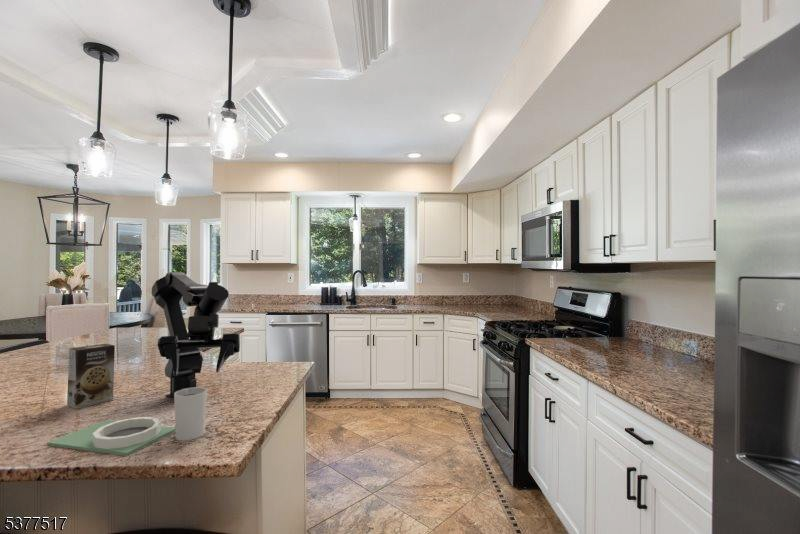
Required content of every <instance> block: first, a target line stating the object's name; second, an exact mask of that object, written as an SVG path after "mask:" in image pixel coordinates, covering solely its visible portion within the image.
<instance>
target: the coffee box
mask: <svg viewBox="0 0 800 534" xmlns="http://www.w3.org/2000/svg"><path fill="white" fill-rule="evenodd" d="M115 346H116V345H113V344H109V343H101V344H93V345H85V346H83V345H82V346H76V347H69V348H68V367H67V369H68V374H67V390H66V391H67V392H66V393H67V398H66V405H67V406H68V407H70V408H73V409H75V410H77V409H82V408H86V407H91V406H93V405H97V404H98V405H99V404H102V403H106V402H107V403H108V402H111V401H113V400H114V388H115V387H114V386H115V385H114V384H115V383H114V382H115V380H114V379H115V354H116V353H115V350H116V349H115V348H116V347H115Z"/></svg>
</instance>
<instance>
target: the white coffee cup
mask: <svg viewBox="0 0 800 534" xmlns="http://www.w3.org/2000/svg"><path fill="white" fill-rule="evenodd" d="M207 395H208V389H207V388H206V387H201V386H198V387H197V386H196V387H193V388H186V389H182V390H179V391H177V392H175V393H174V397H173V398H174V401H173V402H174V424H175V425H174V427H175V440H178V441H190V440H191V441H192V440H196V439H198V438H201V437H202V436H203V435H205V425H206V424H205V423H206V410H207V408H206V407H207Z"/></svg>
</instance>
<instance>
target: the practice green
mask: <svg viewBox="0 0 800 534" xmlns="http://www.w3.org/2000/svg"><path fill="white" fill-rule="evenodd" d="M172 433H176V431H175V426H166V425H161V420H159V418H157V417H150V416H141V417H140V416H139V417H130V418H125V419H122V420H109V419H104V420H102V421H99V422H97V423H94V424H90V425H89V426H87V427H83V428H81V429H79V430H75V431H74V432H70V433H67V434H66V435H63V436H60V437H58V438H56V439H52V440H50V441H47V442H46V446H50V447H58V448H65V449H71V450H72V449H73V450H79V449H80V450H79V451H86V452H87V451H88V452H93V451H94V452H93V453H96V452H97V453H103V454H108V455H109V454H110V455H115V456H116V455H117V456H125V457H127V456H129V455H131V454H134V453H135V452H137V451H139V450H141V449H143V448H145V447H147V446H149V445H151V444H153V443H155V442H157V441H159V440H161V439H163V438H165V437H166V436H169V435H171V434H172Z"/></svg>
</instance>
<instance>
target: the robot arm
mask: <svg viewBox="0 0 800 534" xmlns="http://www.w3.org/2000/svg"><path fill="white" fill-rule="evenodd" d="M151 296H152V298H154V301H155V303H156V305H157V306H159V307H160V308H162V309H163V312H164V313H163V314H164V317H165V321H166V324H167V329H168V333H169V335H164V336H161V337H160V338H159V339H157V344H156V345H157V349H158V351H159V355H160V357H162V358H165V359H166V360H168V361H167V363H166V365H165V367H164V375H165V377H167V378H169V379H170V383H169V385H170V386H169V388H170V390H169V391H170V393H167V394H166V395H165V397H166V398H174V393H175V392H177V391H179V390H182V389H186V388H193V387H197V378H196V374H201V371H202V368H203V361H204V358H203V355H202V353H201V350H200V349H212V348H215V349H216V348H220V349H219V352H218V353H219V354H218V358H217V363H216V370H215V372H216V373H219V372H220V370H221V368H222V367H223V365H224V364H225V363H226V361H227V360H228V359H229V358H230V357H231V356H234V355H235V354H238V353H239V352H240V347H241V341H240V339H241V338H240V334H239V333H237V332H233V333H232V332H231V333H223V334H222V338H221V339H220V338H219V339H218V338H217V339H215V330H216V328H219V323H220V322H219V321H220V320H219V319H220V318H219V315H220V314H217V313H218V312H220V311H221V310H222V308H223V306H224V305H225V303H226V302H227V299H228V298H229V290H228V289H227V288H226V287H224V286H223V285H220V284H218V281H209V282H208V285H207V284H200V283H196V282H195V281H194V280H193V279H192V278H190V277H189V276H187V274H186V273H184V272H181V271H174V272H173V271H169V272H167V273H165V275H164V276H163V277H161V278H159V279H157V280H156V281H155V282H154V284H153V285H152V287H151ZM181 299H182V302H183V303H184V304H185V306H186V307H194V311H193V316H188V321H187V326H186V321H185V318H184V314H183V311H182V308H181V304H180V302H181Z"/></svg>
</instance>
